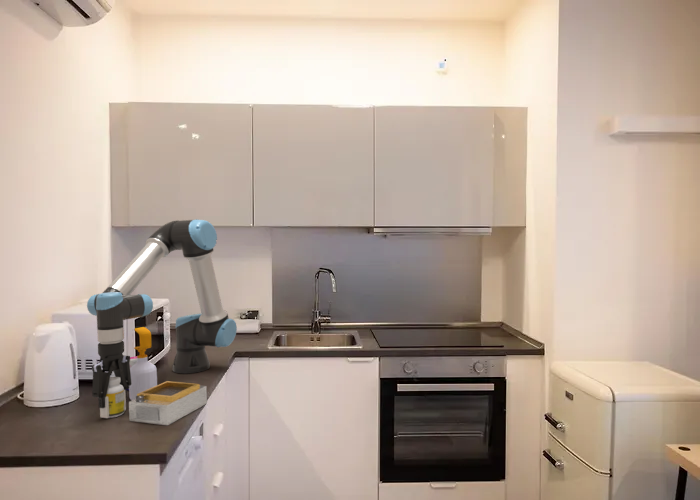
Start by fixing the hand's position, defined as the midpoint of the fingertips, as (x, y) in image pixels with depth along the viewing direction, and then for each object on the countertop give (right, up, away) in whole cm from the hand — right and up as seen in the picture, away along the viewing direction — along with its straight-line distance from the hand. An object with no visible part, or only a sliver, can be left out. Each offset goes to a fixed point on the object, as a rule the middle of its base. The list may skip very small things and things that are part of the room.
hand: (113, 413), depth 158 cm
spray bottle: (+2, 0, +17) cm, 17 cm away
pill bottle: (0, -1, 0) cm, 1 cm away
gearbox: (+17, 0, +2) cm, 17 cm away
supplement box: (-5, 0, +28) cm, 29 cm away
